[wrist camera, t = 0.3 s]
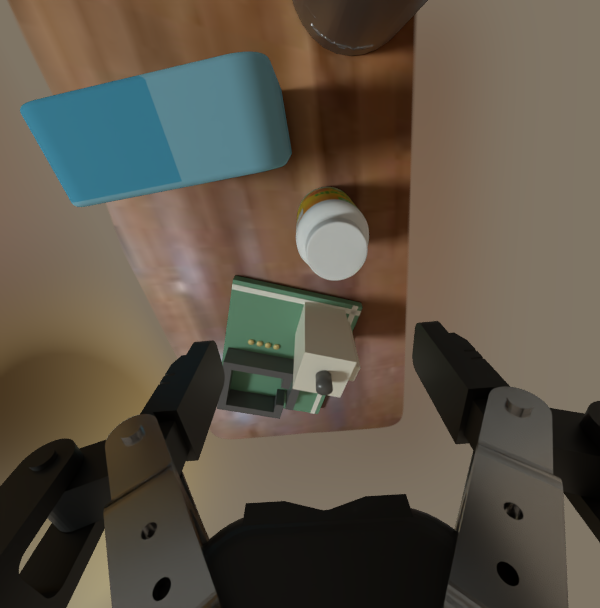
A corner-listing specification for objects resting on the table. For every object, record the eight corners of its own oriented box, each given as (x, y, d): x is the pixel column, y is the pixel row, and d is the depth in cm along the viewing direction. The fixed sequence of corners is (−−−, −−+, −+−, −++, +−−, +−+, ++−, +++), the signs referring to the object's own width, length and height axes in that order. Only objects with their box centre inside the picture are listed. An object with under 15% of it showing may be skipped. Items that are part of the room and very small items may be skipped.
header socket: (230, 335, 32) (225, 349, 30) (308, 350, 33) (308, 364, 31) (221, 392, 37) (216, 408, 35) (290, 404, 38) (289, 420, 36)
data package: (282, 89, 21) (264, 43, 11) (292, 155, 24) (287, 167, 13) (136, 121, 22) (-4, 107, 12) (160, 181, 25) (59, 211, 14)
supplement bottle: (361, 191, 25) (391, 218, 17) (345, 248, 28) (365, 295, 19) (302, 180, 25) (303, 202, 16) (292, 239, 27) (289, 283, 19)
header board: (235, 275, 29) (232, 279, 28) (360, 302, 31) (362, 307, 30) (219, 391, 38) (217, 397, 37) (317, 407, 40) (317, 414, 39)
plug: (304, 301, 30) (304, 365, 22) (353, 312, 30) (371, 378, 22) (295, 334, 32) (291, 402, 24) (341, 343, 33) (352, 413, 25)
